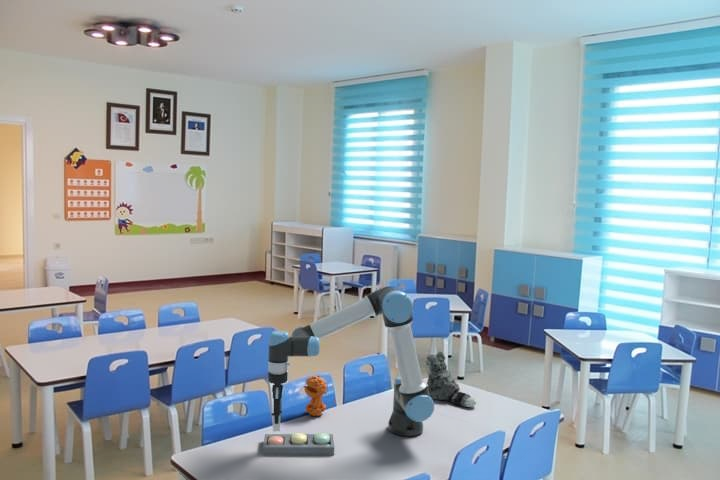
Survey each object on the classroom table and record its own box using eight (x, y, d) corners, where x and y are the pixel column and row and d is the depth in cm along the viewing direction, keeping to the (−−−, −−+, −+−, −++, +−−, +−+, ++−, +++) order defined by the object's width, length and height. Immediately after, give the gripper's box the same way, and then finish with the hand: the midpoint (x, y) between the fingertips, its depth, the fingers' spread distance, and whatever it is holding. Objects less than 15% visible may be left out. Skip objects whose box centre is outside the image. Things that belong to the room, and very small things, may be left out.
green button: (329, 446, 228) (330, 439, 228) (314, 446, 228) (314, 439, 228) (329, 439, 234) (329, 433, 234) (314, 439, 234) (314, 433, 234)
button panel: (334, 454, 226) (334, 447, 226) (262, 454, 223) (262, 447, 223) (332, 441, 238) (332, 434, 237) (264, 441, 235) (264, 434, 235)
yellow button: (306, 446, 227) (306, 439, 227) (291, 446, 227) (291, 439, 227) (306, 439, 233) (306, 433, 233) (291, 439, 233) (291, 433, 233)
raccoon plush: (428, 386, 310) (430, 347, 308) (484, 400, 293) (487, 359, 291) (414, 394, 297) (416, 353, 296) (472, 409, 280) (475, 366, 278)
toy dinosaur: (302, 408, 271) (304, 370, 270) (326, 409, 272) (327, 371, 271) (302, 418, 260) (303, 378, 259) (327, 418, 261) (328, 379, 260)
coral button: (283, 449, 227) (283, 442, 226) (267, 449, 226) (267, 442, 226) (283, 442, 233) (283, 436, 232) (268, 442, 232) (268, 436, 232)
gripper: (287, 376, 221) (285, 437, 223) (288, 366, 234) (286, 423, 236) (267, 376, 220) (265, 437, 222) (269, 366, 233) (267, 423, 235)
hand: (276, 430), depth 229 cm, fingers closed
